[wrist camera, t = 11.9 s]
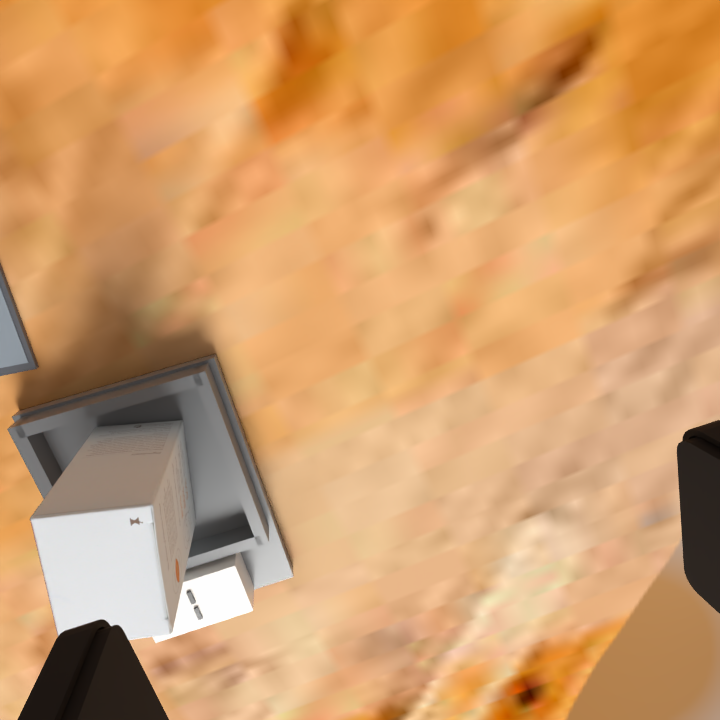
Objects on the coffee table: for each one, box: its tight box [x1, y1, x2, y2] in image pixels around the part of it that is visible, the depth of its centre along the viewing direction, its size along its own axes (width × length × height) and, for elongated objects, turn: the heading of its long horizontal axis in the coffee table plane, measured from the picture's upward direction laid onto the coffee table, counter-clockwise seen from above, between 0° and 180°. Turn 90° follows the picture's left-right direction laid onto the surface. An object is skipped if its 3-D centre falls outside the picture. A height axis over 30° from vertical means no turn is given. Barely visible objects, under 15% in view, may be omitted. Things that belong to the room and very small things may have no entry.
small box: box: [30, 420, 196, 640], centre depth 31 cm, size 8×6×10 cm
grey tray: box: [8, 354, 293, 643], centre depth 36 cm, size 18×13×4 cm
